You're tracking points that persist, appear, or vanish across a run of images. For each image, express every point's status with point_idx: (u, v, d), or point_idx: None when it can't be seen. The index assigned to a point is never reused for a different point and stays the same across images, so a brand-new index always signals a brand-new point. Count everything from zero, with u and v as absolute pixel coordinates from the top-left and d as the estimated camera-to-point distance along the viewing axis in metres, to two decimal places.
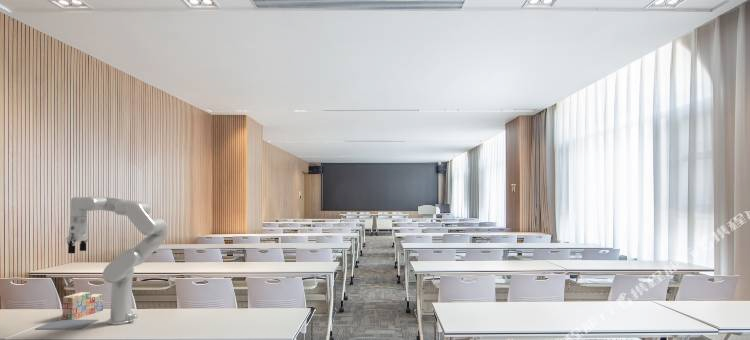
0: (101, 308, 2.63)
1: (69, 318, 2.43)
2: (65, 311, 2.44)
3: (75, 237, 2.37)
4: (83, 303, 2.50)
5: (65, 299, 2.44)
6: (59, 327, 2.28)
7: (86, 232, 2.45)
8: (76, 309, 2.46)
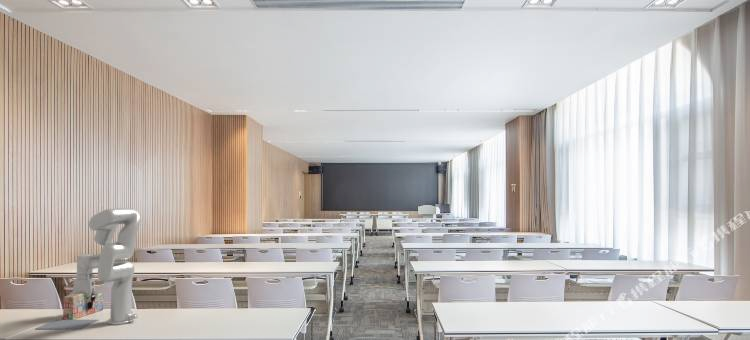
0: (101, 308, 2.63)
1: (70, 318, 2.44)
2: (66, 310, 2.44)
3: None
4: (84, 303, 2.51)
5: (66, 299, 2.45)
6: (59, 327, 2.28)
7: None
8: (77, 309, 2.46)
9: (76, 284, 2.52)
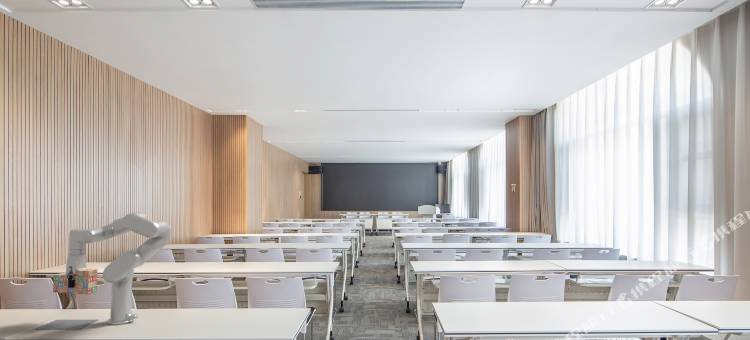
0: None
1: (94, 290, 2.40)
2: (91, 284, 2.38)
3: None
4: None
5: (90, 272, 2.38)
6: (59, 327, 2.28)
7: None
8: None
9: (77, 260, 2.39)
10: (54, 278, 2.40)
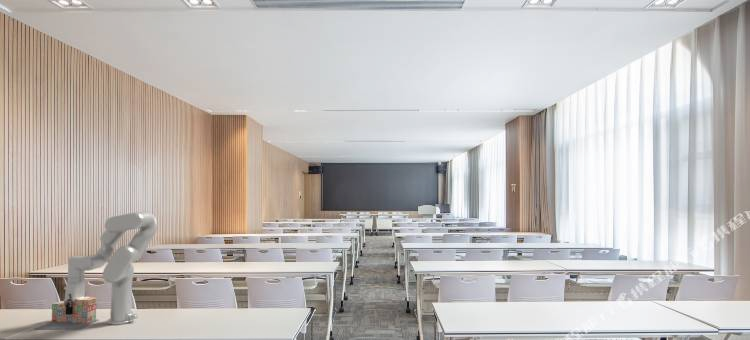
0: None
1: (93, 319, 2.39)
2: (90, 313, 2.37)
3: None
4: None
5: (90, 301, 2.37)
6: (59, 327, 2.28)
7: None
8: None
9: (76, 287, 2.38)
10: (53, 307, 2.39)
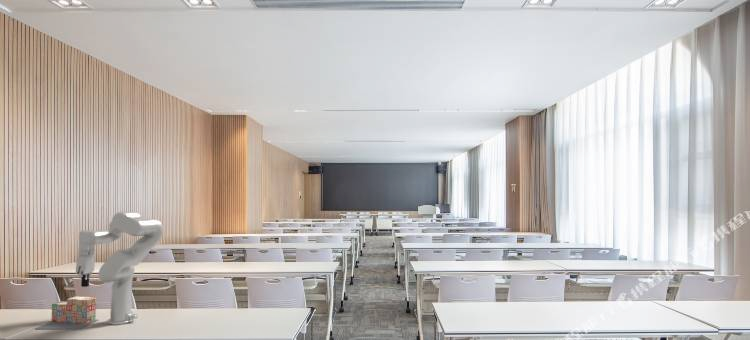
0: None
1: (93, 319, 2.39)
2: (90, 313, 2.37)
3: None
4: None
5: (89, 301, 2.37)
6: (59, 327, 2.28)
7: None
8: None
9: (87, 260, 2.47)
10: (52, 307, 2.39)
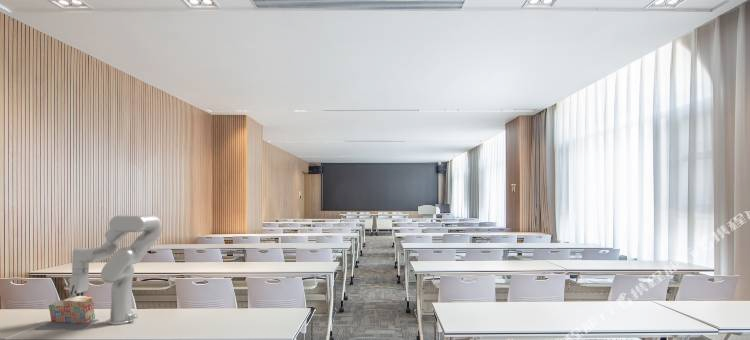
0: None
1: (92, 318, 2.39)
2: (88, 313, 2.36)
3: None
4: None
5: (85, 302, 2.35)
6: (59, 327, 2.28)
7: None
8: None
9: (81, 279, 2.41)
10: (50, 308, 2.37)
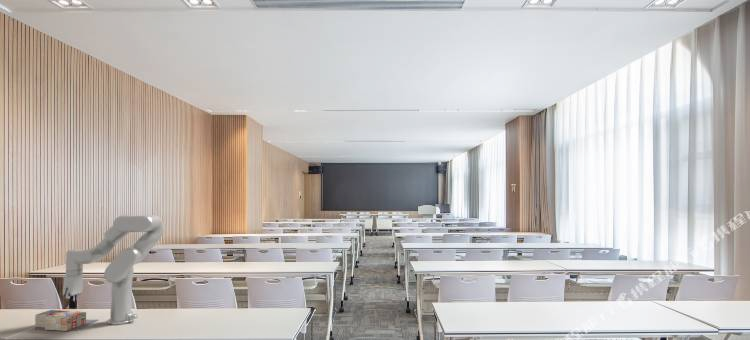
0: (50, 310, 2.37)
1: (84, 315, 2.34)
2: (78, 322, 2.30)
3: None
4: (62, 314, 2.29)
5: (68, 327, 2.24)
6: None
7: None
8: (73, 314, 2.30)
9: (74, 281, 2.36)
10: None
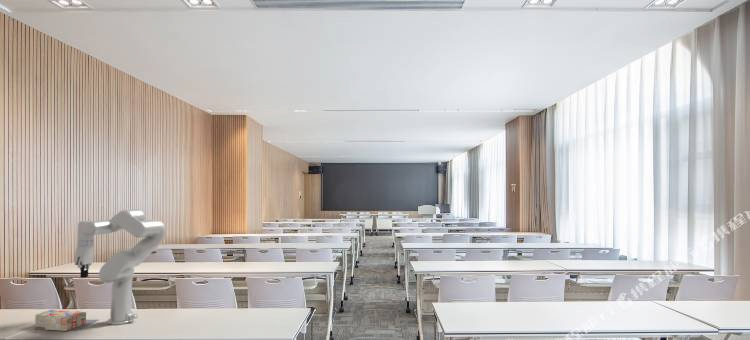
0: (50, 310, 2.37)
1: (84, 315, 2.34)
2: (78, 322, 2.30)
3: None
4: (62, 314, 2.29)
5: (68, 327, 2.24)
6: None
7: None
8: (73, 314, 2.30)
9: (86, 251, 2.46)
10: None
